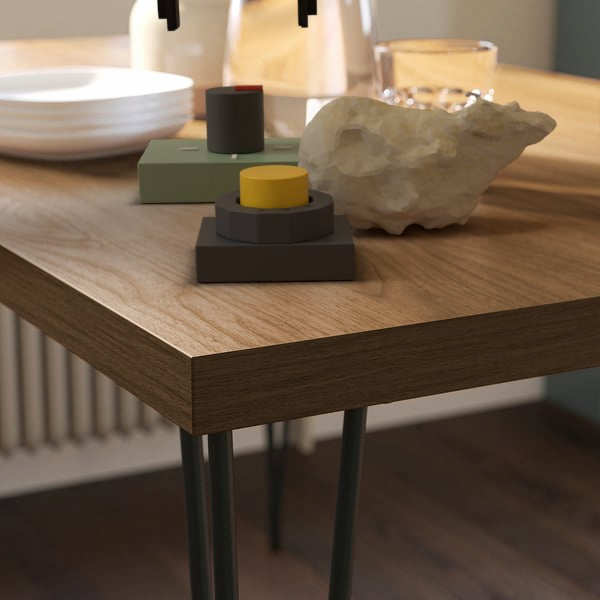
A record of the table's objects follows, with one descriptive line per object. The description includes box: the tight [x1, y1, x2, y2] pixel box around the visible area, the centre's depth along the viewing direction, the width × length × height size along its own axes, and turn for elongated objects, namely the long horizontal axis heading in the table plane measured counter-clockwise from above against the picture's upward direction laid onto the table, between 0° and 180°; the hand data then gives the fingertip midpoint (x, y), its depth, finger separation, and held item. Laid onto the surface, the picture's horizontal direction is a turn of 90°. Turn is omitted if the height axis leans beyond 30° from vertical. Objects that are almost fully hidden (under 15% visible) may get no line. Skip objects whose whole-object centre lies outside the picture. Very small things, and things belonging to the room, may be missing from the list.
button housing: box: [194, 189, 356, 283], centre depth 70 cm, size 9×7×4 cm
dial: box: [204, 84, 265, 154], centre depth 90 cm, size 4×4×5 cm
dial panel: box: [137, 137, 301, 204], centre depth 91 cm, size 14×10×3 cm
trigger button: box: [240, 165, 309, 209], centre depth 69 cm, size 4×4×2 cm
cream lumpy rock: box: [298, 91, 558, 236], centre depth 78 cm, size 15×7×15 cm
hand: (238, 27), depth 88 cm, fingers open, 9 cm apart
